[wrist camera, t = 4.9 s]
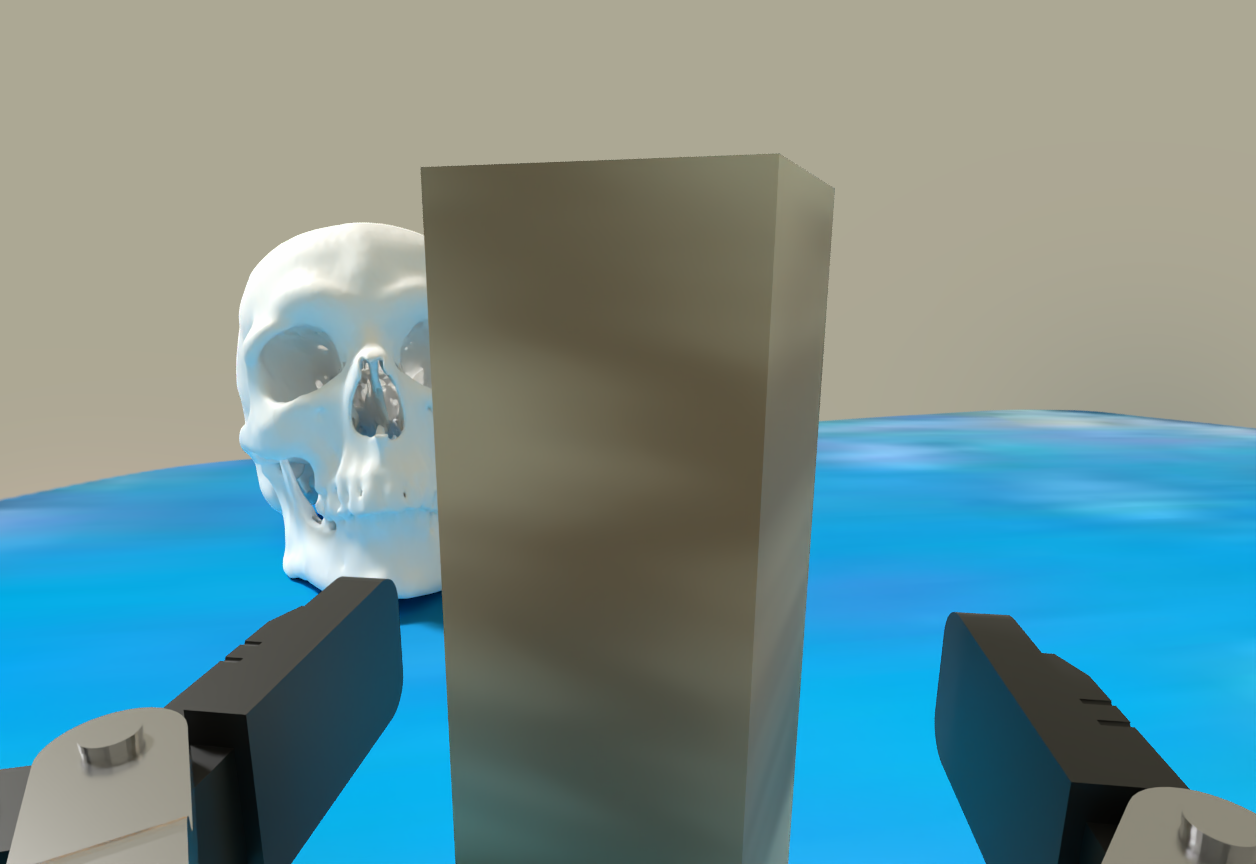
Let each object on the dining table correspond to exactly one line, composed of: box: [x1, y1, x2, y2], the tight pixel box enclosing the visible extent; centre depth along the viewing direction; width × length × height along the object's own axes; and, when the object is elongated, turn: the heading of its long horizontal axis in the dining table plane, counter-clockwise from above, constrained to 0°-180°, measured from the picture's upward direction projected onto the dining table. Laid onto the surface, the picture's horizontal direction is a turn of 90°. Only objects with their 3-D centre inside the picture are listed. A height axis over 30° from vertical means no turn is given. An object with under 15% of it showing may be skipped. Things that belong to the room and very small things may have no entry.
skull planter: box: [236, 222, 442, 599], centre depth 41 cm, size 14×20×19 cm
